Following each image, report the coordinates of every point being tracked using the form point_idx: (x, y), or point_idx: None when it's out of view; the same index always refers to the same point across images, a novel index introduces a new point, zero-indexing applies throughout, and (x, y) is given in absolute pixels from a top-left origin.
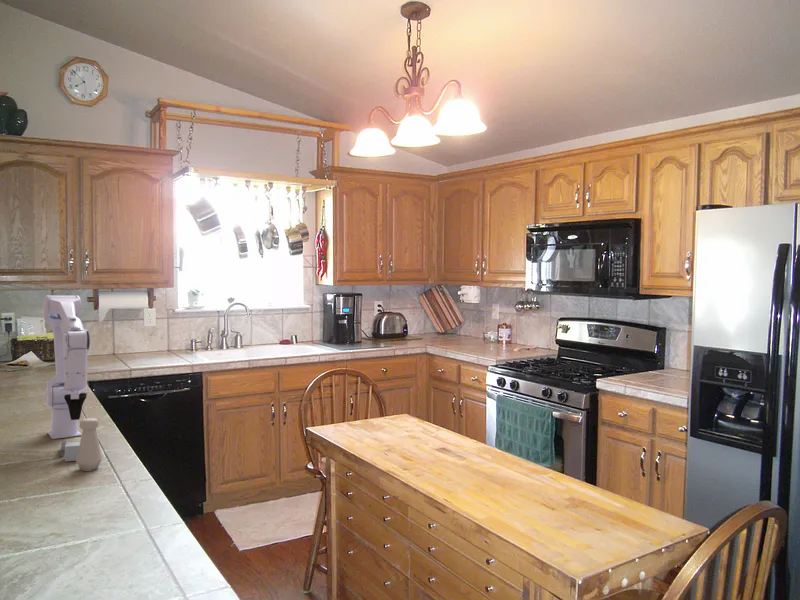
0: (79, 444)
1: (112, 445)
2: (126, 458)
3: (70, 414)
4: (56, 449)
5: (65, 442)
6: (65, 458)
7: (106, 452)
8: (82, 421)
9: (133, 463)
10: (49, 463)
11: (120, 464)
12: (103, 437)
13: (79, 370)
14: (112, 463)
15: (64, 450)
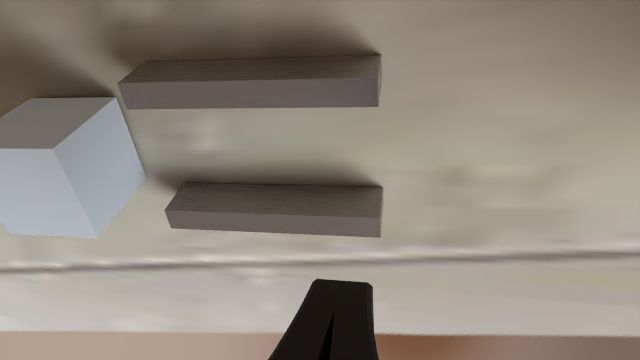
0: (23, 222)
1: None
2: (115, 316)
3: (286, 333)
4: (366, 14)
5: (334, 104)
6: (17, 109)
7: (219, 269)
8: None
9: (49, 324)
10: (2, 7)
11: (32, 293)
12: (582, 281)
13: None
14: (42, 273)
15: (131, 104)
